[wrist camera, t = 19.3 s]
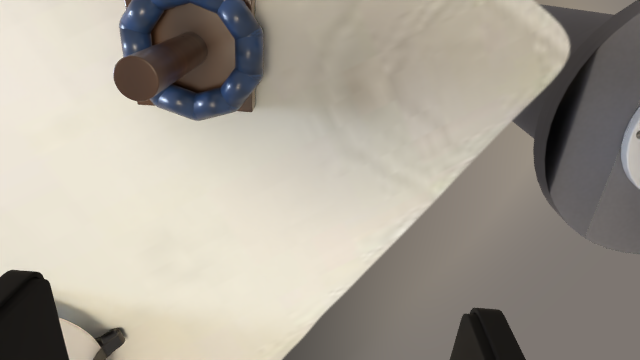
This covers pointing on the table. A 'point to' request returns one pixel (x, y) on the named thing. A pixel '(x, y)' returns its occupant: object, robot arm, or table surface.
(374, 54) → the table surface
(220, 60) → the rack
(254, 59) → the ring
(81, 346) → the coffee press
